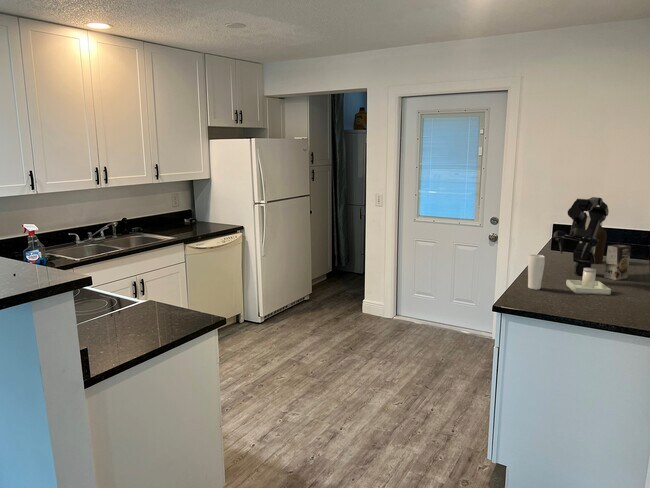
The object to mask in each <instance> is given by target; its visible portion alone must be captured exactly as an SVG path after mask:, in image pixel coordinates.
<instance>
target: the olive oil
mask: <svg viewBox="0 0 650 488" xmlns="http://www.w3.org/2000/svg"><path fill="white" fill-rule="evenodd" d="M607 235H608V233H607V231H606V230H605V228H604V227H603V225H602V226H601V225H599V227H598V230H597V233H596V236H595V239H598V241H599V242H598V245H597V246H593V247H592V250H593V254H594V257H595V263H594V264H593V265H595V264H596V265H600V264H599V263H601V264H603V260H604V254H605V248H606V242H607V238H608V237H607Z"/></svg>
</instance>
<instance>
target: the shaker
mask: <svg viewBox="0 0 650 488" xmlns="http://www.w3.org/2000/svg"><path fill="white" fill-rule="evenodd" d="M596 275H597V268H593V267H591V268H584V269H583V276H582V287H581V288H594V285H595V281H596Z"/></svg>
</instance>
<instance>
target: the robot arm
mask: <svg viewBox="0 0 650 488" xmlns="http://www.w3.org/2000/svg"><path fill="white" fill-rule="evenodd" d="M587 212H588V214H587ZM567 215H568V217H569V218H570V219H571V220H572V223H571V227H570V233H569V234H568V233H566V231H563V230H560V229H558V230H555V231H554V233H553V235H552V237H553V238H554V239H555V241H557V242H558V246H559V250H560V251H559V252H560V254H561V255H562V254H563V251H564V245H565V241H566V240H565V239H569V240H571V241H572V240H573V241H578V243H576V247H575V249H574V250H573V255H572V258H573V263H575V264H574V270H573V273H574V274H575V275H577V276H580V277H581V276H582V277H583V269H584V268H592V265H595V264H594V263H595V257H594V254H593V250H592V247H593V246H597V245H598V242H599V241H598V239H595V236H596V233H597V230H598V227H599V225H600V223H601V222H602V223H603V222H605V220H606V219H607V217H608V215H609V206H608V204H607V203H605V202H604V201H603V198H602V197H596V196H595V197H594V196H592V197H590V198H576V200H575V201H574V202H573V204H572V205H571V207H570V208H569V209H568V210H567ZM588 216H590V222H589V225H588V228H587V230H585V228H586V221H587V218H588ZM583 237H584V238H583ZM580 241H581V242H582V243H580Z"/></svg>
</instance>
